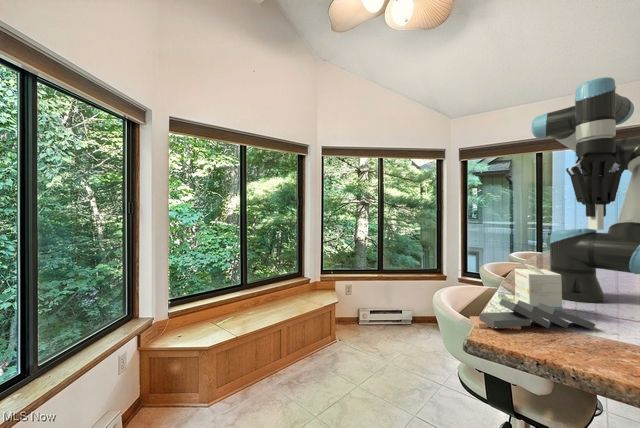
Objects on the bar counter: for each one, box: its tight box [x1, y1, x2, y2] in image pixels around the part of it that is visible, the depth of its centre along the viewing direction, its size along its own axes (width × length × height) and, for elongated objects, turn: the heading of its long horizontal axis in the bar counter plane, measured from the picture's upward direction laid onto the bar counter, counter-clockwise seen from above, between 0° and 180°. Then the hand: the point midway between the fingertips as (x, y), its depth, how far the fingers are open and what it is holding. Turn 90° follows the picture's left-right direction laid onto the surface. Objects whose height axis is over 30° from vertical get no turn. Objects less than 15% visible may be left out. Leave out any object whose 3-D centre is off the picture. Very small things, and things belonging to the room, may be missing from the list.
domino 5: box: [538, 303, 596, 331], centre depth 70 cm, size 2×5×10 cm
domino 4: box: [517, 300, 570, 329], centre depth 71 cm, size 2×5×10 cm
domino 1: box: [469, 315, 522, 330], centre depth 72 cm, size 2×5×10 cm
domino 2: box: [478, 311, 532, 329], centre depth 70 cm, size 2×5×10 cm
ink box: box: [514, 263, 563, 311], centre depth 81 cm, size 9×8×13 cm
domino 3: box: [499, 298, 552, 329], centre depth 71 cm, size 2×5×10 cm
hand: (595, 229), depth 73 cm, fingers closed
